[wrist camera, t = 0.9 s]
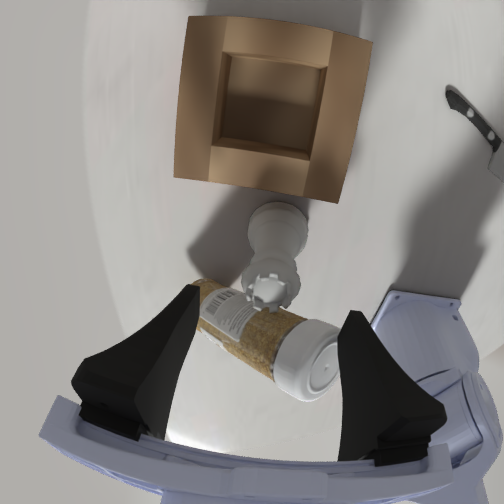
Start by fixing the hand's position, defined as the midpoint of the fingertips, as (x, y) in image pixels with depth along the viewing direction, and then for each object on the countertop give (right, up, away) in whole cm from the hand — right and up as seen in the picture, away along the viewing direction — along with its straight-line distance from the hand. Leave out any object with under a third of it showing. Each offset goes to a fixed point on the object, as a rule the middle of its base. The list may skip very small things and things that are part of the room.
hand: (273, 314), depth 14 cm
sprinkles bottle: (-5, -1, +11) cm, 12 cm away
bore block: (0, +13, +3) cm, 13 cm away
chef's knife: (+21, +10, +3) cm, 24 cm away
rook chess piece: (+1, +5, +8) cm, 10 cm away
